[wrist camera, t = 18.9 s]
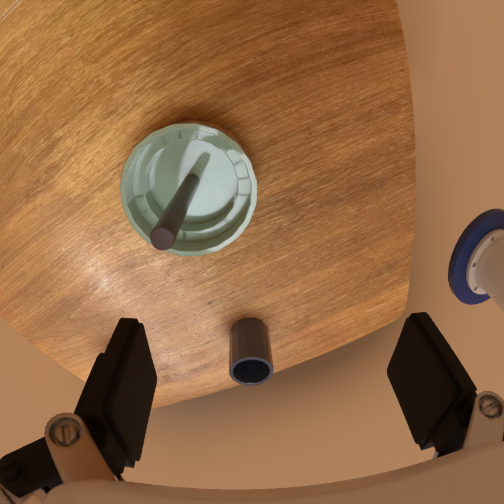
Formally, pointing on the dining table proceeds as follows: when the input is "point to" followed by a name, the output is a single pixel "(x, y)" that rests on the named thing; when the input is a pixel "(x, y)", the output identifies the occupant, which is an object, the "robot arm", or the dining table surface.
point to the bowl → (207, 194)
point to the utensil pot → (250, 352)
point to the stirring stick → (174, 214)
